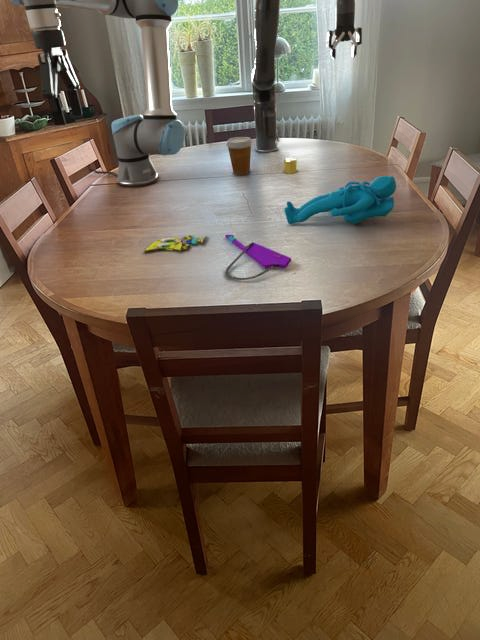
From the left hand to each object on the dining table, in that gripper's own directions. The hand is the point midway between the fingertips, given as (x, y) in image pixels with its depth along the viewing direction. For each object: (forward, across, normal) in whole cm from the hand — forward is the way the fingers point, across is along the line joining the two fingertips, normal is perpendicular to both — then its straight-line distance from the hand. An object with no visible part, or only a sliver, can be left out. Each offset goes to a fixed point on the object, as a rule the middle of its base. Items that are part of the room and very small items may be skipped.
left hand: (69, 119), depth 132 cm
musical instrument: (+31, -30, -47) cm, 64 cm away
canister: (+31, +44, -61) cm, 81 cm away
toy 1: (+31, -18, -28) cm, 45 cm away
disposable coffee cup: (+31, +46, -43) cm, 70 cm away
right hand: (-1, +90, -86) cm, 124 cm away
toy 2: (+31, -8, -73) cm, 79 cm away
